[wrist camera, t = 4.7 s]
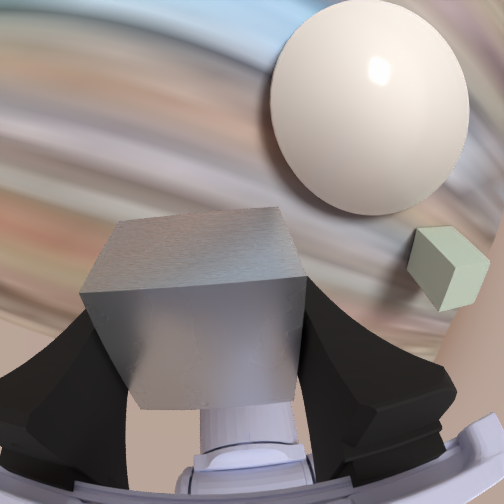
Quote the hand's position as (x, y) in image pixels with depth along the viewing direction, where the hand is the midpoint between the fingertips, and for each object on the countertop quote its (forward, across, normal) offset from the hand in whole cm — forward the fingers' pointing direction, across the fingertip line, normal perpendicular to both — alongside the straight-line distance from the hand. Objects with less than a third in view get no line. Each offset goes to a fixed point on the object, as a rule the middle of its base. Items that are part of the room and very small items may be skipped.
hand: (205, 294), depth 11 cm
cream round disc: (+8, -10, -6) cm, 14 cm away
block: (+8, -16, +4) cm, 18 cm away
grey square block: (+1, 0, 0) cm, 1 cm away
